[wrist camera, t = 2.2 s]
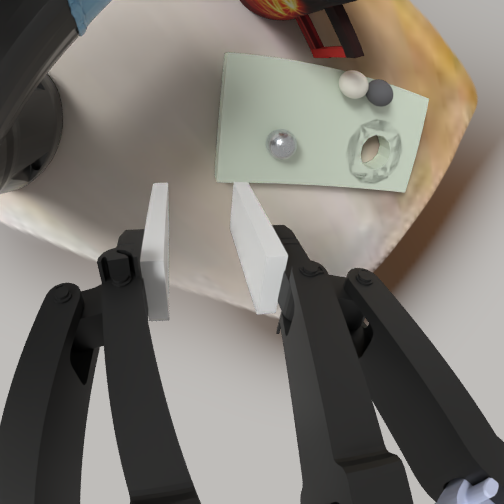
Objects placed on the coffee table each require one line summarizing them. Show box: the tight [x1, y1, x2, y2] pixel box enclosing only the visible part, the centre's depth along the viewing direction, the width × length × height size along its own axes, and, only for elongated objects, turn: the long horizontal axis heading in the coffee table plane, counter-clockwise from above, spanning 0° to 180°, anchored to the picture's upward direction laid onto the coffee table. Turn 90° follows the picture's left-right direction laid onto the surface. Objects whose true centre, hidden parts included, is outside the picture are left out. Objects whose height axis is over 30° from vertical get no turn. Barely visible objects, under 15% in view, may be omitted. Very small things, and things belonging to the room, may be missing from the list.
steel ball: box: [265, 129, 297, 160], centre depth 29 cm, size 3×3×3 cm
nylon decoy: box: [339, 70, 369, 99], centre depth 26 cm, size 3×3×3 cm
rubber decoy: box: [366, 79, 393, 107], centre depth 27 cm, size 3×3×3 cm
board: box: [214, 52, 429, 192], centre depth 32 cm, size 26×14×2 cm, turn 84°
